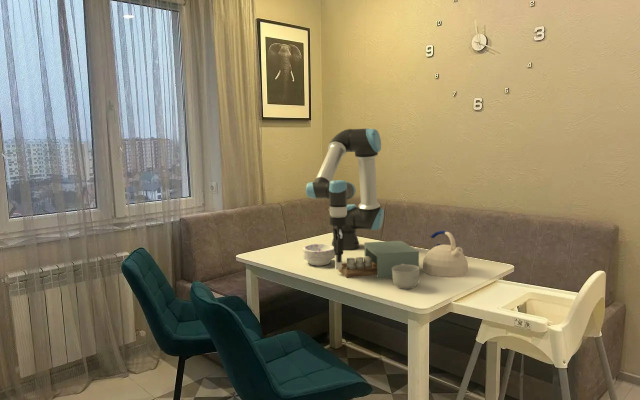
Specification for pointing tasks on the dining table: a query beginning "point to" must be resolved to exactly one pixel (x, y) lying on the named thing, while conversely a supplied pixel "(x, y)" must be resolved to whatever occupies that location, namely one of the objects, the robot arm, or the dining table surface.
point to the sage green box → (390, 256)
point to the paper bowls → (318, 254)
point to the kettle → (445, 259)
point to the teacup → (405, 276)
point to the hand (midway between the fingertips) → (338, 268)
